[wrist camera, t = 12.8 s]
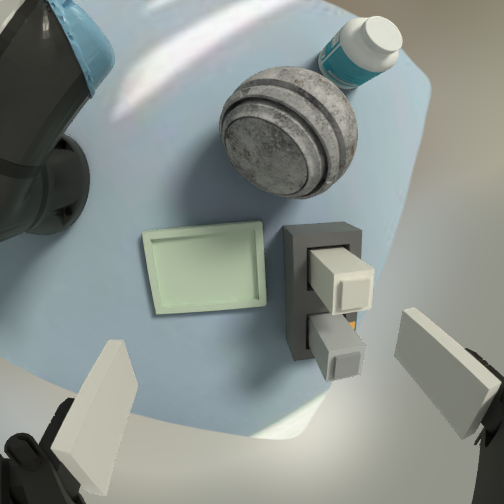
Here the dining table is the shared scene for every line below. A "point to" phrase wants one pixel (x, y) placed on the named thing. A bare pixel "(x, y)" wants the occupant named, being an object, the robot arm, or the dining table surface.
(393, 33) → the pill bottle
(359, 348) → the plug
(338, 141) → the decorative orb
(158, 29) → the dining table surface
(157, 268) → the tray
